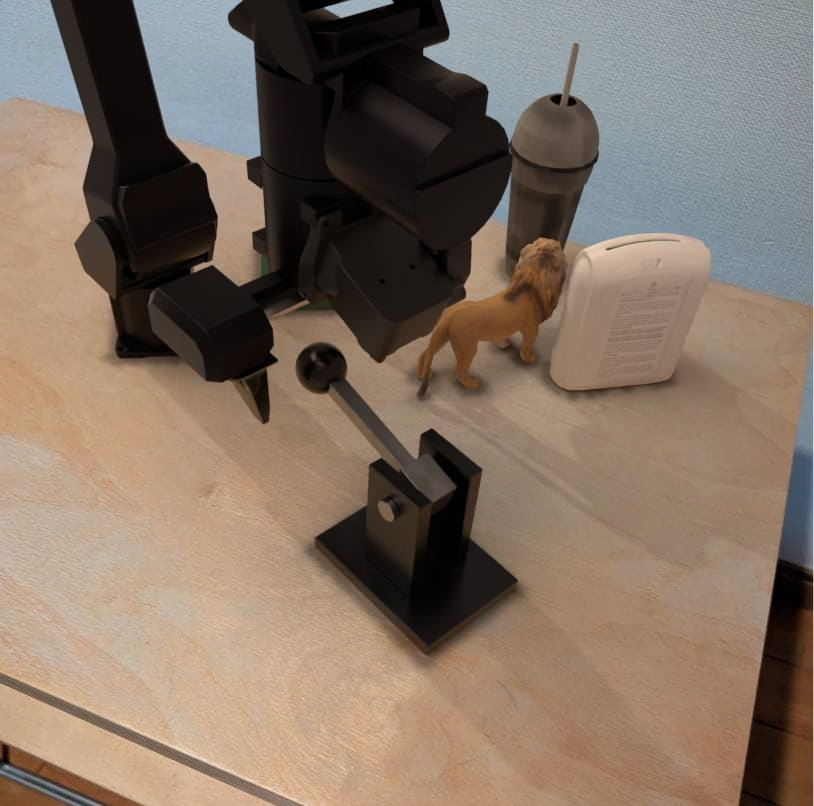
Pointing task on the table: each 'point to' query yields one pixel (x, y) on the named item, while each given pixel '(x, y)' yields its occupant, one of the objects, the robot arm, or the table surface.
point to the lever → (370, 421)
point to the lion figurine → (501, 313)
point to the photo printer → (629, 310)
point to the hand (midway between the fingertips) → (321, 388)
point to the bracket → (419, 550)
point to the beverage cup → (549, 168)
